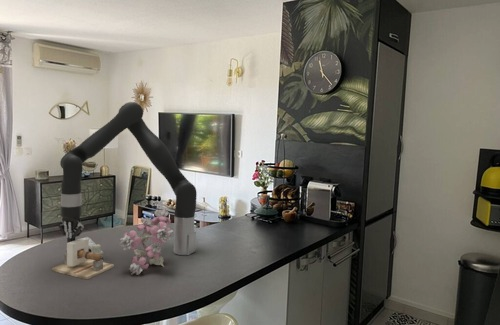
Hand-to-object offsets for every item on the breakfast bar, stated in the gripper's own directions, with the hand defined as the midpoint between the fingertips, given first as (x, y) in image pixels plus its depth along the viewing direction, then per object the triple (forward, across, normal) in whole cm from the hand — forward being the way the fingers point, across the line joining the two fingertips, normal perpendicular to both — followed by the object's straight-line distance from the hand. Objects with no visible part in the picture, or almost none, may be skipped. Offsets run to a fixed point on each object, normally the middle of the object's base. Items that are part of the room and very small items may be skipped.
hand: (71, 246), depth 147 cm
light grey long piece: (+9, +6, -16) cm, 19 cm away
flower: (+8, -29, -11) cm, 32 cm away
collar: (+6, -4, 0) cm, 7 cm away
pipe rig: (+8, -7, 0) cm, 11 cm away
